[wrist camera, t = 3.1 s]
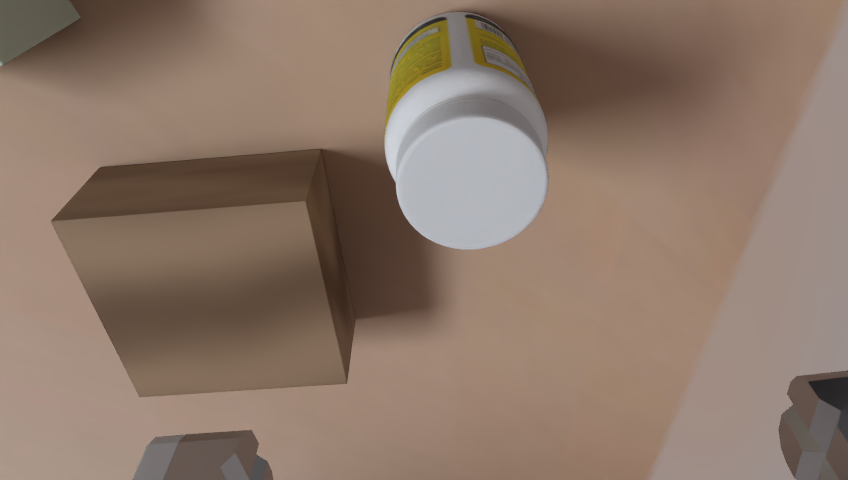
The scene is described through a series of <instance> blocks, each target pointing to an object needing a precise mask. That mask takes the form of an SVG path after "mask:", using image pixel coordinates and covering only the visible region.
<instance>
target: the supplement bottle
mask: <svg viewBox="0 0 848 480" xmlns="http://www.w3.org/2000/svg"><path fill="white" fill-rule="evenodd" d="M384 145H385V155H386V160H387V164H388V167H389V170H390V173H391V175H392V177H393V179H394V181H395V182H396V192H397V198H398V201H399V205H400V207H401V209H402V212H403V214H404V215H405V217H406V219H407V220H408V221H409V223H410V224H411V225H412V226H413V227H414V228H415V229H416V230H417V231H418V232H419V233H420V234H422V235H423V236H425V237H426V238H428V239H429V240H431V241H433V242H435V243H438V244H440V245H443V246H446V247H450V248H456V249H465V250H468V249H482V248H487V247H491V246H495V245H498V244H501V243H503V242H505V241H507V240H509V239H511V238H513V237H514V236H516V235H517V234H519V233H520V232H521V231H523V230H524V229H525V228H526V227H527V226H528V225H529V224H530V223H531V222H532V221H533V220H534V219H535V217H536V216H537V214H538V213H539V211H540V209H541V207H542V206H543V203H544V201H545V197H546V194H547V189H548V178H549V175H548V168H547V163H546V159H545V158H546V154H547V147H548V130H547V124H546V119H545V116H544V113H543V110H542V108H541V106H540V103H539V101H538V99H537V96H536V94H535V92H534V89H533V87H532V84H531V82H530V80H529V77H528V75H527V73H526V71H525V68H524V66H523V64H522V62H521V59H520V57H519V54H518V52H517V50H516V48H515V46H514V44H513V42H512V41H511V39H510V38H509V36H508V35H507V34H506V33H505V32H504V30H503V29H501V28H500V27H499V26H498V25H497V24H495V23H494V22H492V21H491V20H489V19H487V18H485V17H483V16H480V15H477V14H473V13H468V12H449V13H444V14H440V15H436V16H434V17H431V18H429V19H427V20H425V21H423V22H421V23H420V24H418V25H417V26H416V27H414V28H413V29H412V30H411V31H410V32H409V33H408V34H407V35H406V36H405V38H404V39H403V41H402V42H401V44H400V45H399V47H398V49H397V51H396V53H395V56H394V59H393V63H392V67H391V75H390V85H389V96H388V106H387V117H386V126H385V136H384Z"/></svg>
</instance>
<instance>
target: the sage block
mask: <svg viewBox="0 0 848 480" xmlns="http://www.w3.org/2000/svg"><path fill="white" fill-rule="evenodd" d="M80 18H81V17H80V16H79V14H78V13H77V11H76V9H75V8H74V6H73V5H72V3H71V2H70V0H0V66H2V65H4V64H5V63H7V62H9V61H10V60H12V59H14V58H15V57H17V56H19V55H20V54H22V53H24V52H25V51H27V50H29V49H30V48H32V47H34V46H35V45H37V44H39V43H40V42H42V41H44V40H45V39H47V38H49V37H50V36H52V35H54V34H55V33H57V32H59V31H60V30H62V29H63V28H65V27H67V26H68V25H70V24H72V23H73V22H75V21H77V20H78V19H80Z"/></svg>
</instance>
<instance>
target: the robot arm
mask: <svg viewBox="0 0 848 480" xmlns="http://www.w3.org/2000/svg"><path fill="white" fill-rule="evenodd" d="M787 395H788V396H789V398H790V400H791V401H792V403H793V405H792V406H791V407H790V408H789V409H788V410H786V411H785V412H784V413H783V414H782V415H781V421H780V425H779V436H780V444H781V449H782V452H783V455H784V457H785V460H786V463H787V464H788V467H789V468H790V470H791V472H792V474H793V476H794V478H795V479H797V480H848V371H839V372H831V373H821V374H813V375H803V376H796V377H795V378H794V379H793V380H792V381H791V382H790V386H789V389H788V392H787ZM258 445H259V443H258V441H257V439H256V437H255V435H254V434H253V432H252V430H243V431H229V432H214V433H199V434H186V435H175V436H163V437H155V438H154V439H153V440H152V441H151V442H150V443H149V444H148V446H147V447H146V449H145V452H144V454H143V456H142V458H141V461H140V463H139V465H138V467H137V470H136V472H135V474H134V476H133V479H132V480H273V475H272V471H271V468H270V466H269V464H268V462H267V461H266V460H264V459H263V458H261V457H259V456H258V455H256V453H257V449H258Z"/></svg>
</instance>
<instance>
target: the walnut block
mask: <svg viewBox="0 0 848 480" xmlns="http://www.w3.org/2000/svg"><path fill="white" fill-rule="evenodd" d="M51 223H52V225H53V227H54V229H55V231H56V233H57V235H58V237H59V239H60V241H61V243H62V245H63V247H64V249H65V251H66V253H67V255H68V257H69V258H70V260H71V262H72V264H73V266H74V268H75V270H76V272H77V274H78V276H79V278H80V280H81V282H82V284H83V286H84V288H85V290H86V292H87V294H88V296H89V298H90V300H91V302H92V304H93V306H94V308H95V310H96V312H97V314H98V316H99V318H100V320H101V322H102V324H103V326H104V328H105V330H106V332H107V334H108V336H109V338H110V340H111V342H112V344H113V345H114V347H115V349H116V351H117V353H118V355H119V357H120V359H121V361H122V363H123V365H124V367H125V369H126V371H127V373H128V375H129V377H130V379H131V381H132V383H133V385H134V387H135V389H136V391H137V393H138V395H139V397H149V396H165V395H180V394H195V393H210V392H226V391H241V390H256V389H272V388H287V387H302V386H317V385H333V384H347V380H348V372H349V364H350V357H351V349H352V341H353V334H354V326H355V316H354V311H353V307H352V302H351V297H350V292H349V287H348V282H347V277H346V272H345V267H344V262H343V257H342V252H341V247H340V242H339V237H338V232H337V227H336V222H335V217H334V212H333V207H332V202H331V197H330V192H329V187H328V182H327V177H326V172H325V167H324V162H323V157H322V153H321V149H317V150H305V151H293V152H281V153H269V154H257V155H245V156H233V157H221V158H209V159H197V160H185V161H173V162H162V163H150V164H138V165H126V166H114V167H102V168H99V169H98V170H97V171H96V172H95V173H94V174H93V175H92V176H91V178H90V179H89V180H88V181H87V182H86V183H85V184H84V185H83V186H82V187H81V189H80V190H79V191H78V192H77V193H76V194H75V195H74V196H73V197H72V198H71V200H70V201H69V202H68V203H67V204H66V205H65V206H64V207H63V208H62V209H61V211H60V212H59V213H58V214H57V215H56V216H55V217H54V218H53V219H52V221H51Z"/></svg>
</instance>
